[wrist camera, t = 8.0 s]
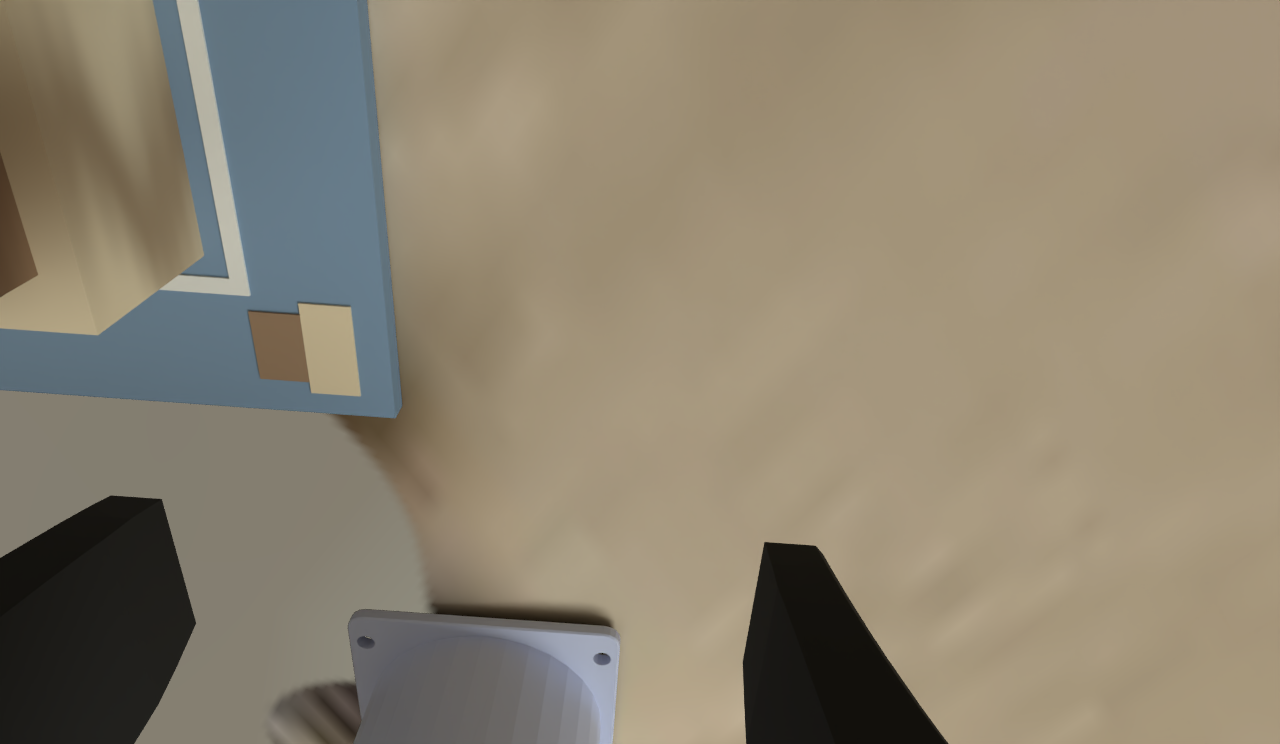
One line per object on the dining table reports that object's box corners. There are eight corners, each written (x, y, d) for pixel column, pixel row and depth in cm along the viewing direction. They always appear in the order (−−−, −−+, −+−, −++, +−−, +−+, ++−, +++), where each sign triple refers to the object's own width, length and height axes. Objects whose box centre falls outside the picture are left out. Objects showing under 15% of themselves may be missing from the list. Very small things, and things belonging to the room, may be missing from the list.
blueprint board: (402, 405, 21) (394, 419, 21) (-148, 366, 21) (-171, 379, 21) (342, -282, 14) (329, -290, 14) (-470, -344, 14) (-518, -355, 14)
